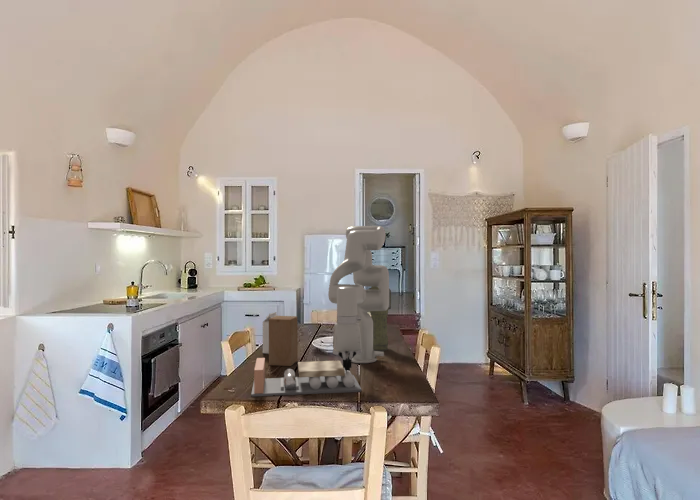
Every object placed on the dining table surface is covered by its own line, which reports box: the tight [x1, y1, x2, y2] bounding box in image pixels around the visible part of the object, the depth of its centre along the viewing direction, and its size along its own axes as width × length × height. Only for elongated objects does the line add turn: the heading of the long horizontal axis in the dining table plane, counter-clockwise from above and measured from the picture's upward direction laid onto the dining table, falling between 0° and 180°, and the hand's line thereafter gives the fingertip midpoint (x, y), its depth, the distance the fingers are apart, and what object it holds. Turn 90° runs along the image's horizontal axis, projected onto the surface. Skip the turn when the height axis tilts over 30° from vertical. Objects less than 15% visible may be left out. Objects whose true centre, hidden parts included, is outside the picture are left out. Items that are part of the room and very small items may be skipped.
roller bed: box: [250, 357, 363, 397], centre depth 175 cm, size 38×19×9 cm, turn 98°
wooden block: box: [268, 315, 299, 367], centre depth 209 cm, size 10×10×20 cm
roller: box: [283, 368, 296, 390], centre depth 174 cm, size 4×14×4 cm, turn 8°
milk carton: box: [262, 312, 279, 355], centre depth 230 cm, size 7×7×19 cm
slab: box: [297, 360, 345, 377], centre depth 176 cm, size 16×14×2 cm
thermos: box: [367, 287, 392, 352], centre depth 238 cm, size 9×12×35 cm
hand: (347, 369), depth 177 cm, fingers closed
